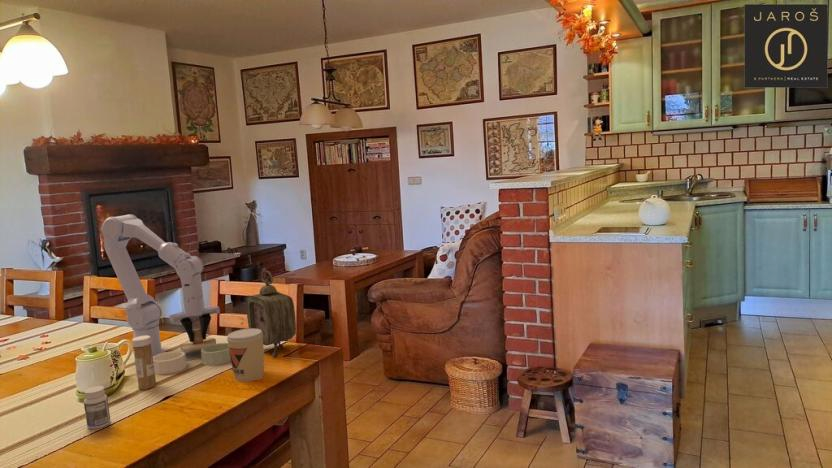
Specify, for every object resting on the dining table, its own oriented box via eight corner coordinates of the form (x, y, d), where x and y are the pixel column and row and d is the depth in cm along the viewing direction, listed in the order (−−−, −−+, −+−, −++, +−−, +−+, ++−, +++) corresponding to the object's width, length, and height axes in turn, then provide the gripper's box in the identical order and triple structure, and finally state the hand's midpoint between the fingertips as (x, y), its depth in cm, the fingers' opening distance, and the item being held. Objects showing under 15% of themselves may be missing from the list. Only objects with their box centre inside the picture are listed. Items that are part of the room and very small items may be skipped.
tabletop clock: (250, 350, 185) (242, 270, 182) (277, 343, 190) (269, 265, 187) (273, 359, 174) (264, 275, 171) (300, 351, 180) (292, 269, 176)
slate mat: (176, 353, 186) (175, 352, 186) (211, 345, 193) (211, 344, 193) (186, 362, 177) (186, 361, 177) (223, 353, 183) (223, 352, 183)
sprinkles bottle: (158, 386, 158) (152, 337, 156) (139, 391, 155) (133, 341, 154) (155, 382, 162) (148, 333, 160) (136, 386, 159) (130, 337, 157)
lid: (176, 346, 186) (174, 330, 185) (210, 338, 192) (208, 323, 191) (185, 353, 177) (183, 337, 177) (220, 345, 183) (219, 329, 183)
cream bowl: (149, 369, 172) (147, 356, 172) (181, 362, 177) (180, 349, 177) (156, 377, 165) (154, 363, 164) (190, 369, 170) (188, 355, 170)
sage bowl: (196, 363, 176) (194, 349, 175) (223, 354, 182) (221, 341, 182) (213, 368, 170) (211, 354, 169) (240, 358, 177) (239, 345, 176)
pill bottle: (92, 421, 138) (88, 386, 137) (114, 419, 138) (109, 384, 137) (83, 430, 133) (78, 394, 132) (105, 428, 134) (100, 392, 133)
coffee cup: (224, 378, 161) (219, 334, 159) (255, 368, 168) (250, 326, 166) (243, 385, 154) (238, 340, 153) (274, 374, 161) (269, 331, 160)
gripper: (171, 303, 175) (176, 348, 177) (221, 294, 183) (225, 337, 185) (165, 299, 181) (170, 343, 183) (213, 291, 189) (218, 333, 191)
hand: (197, 340), depth 184 cm, fingers closed on lid, 3 cm apart
